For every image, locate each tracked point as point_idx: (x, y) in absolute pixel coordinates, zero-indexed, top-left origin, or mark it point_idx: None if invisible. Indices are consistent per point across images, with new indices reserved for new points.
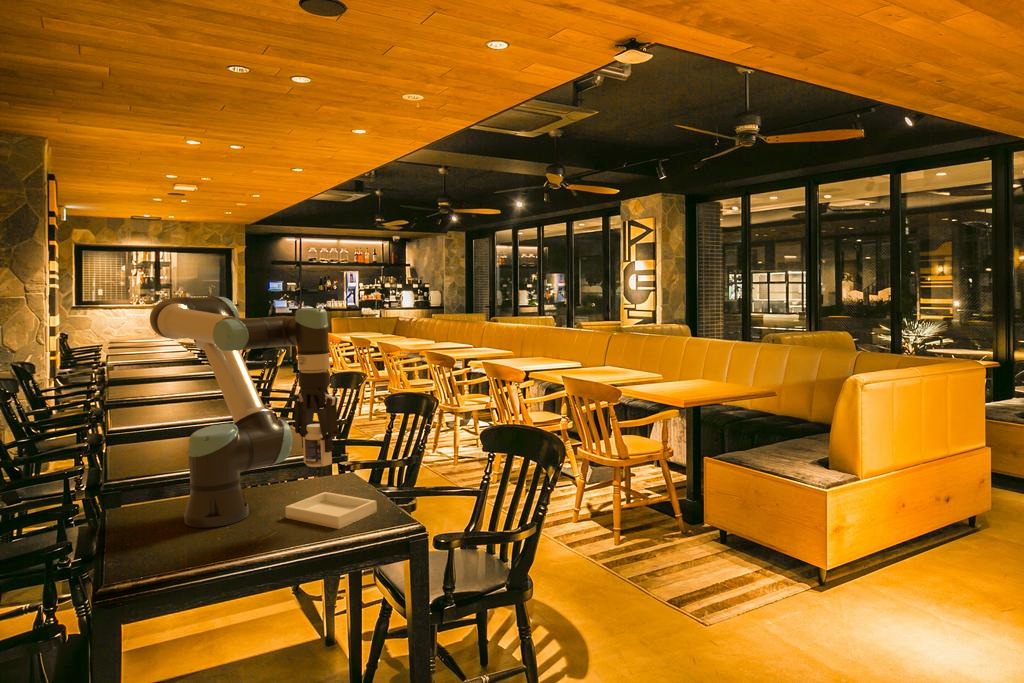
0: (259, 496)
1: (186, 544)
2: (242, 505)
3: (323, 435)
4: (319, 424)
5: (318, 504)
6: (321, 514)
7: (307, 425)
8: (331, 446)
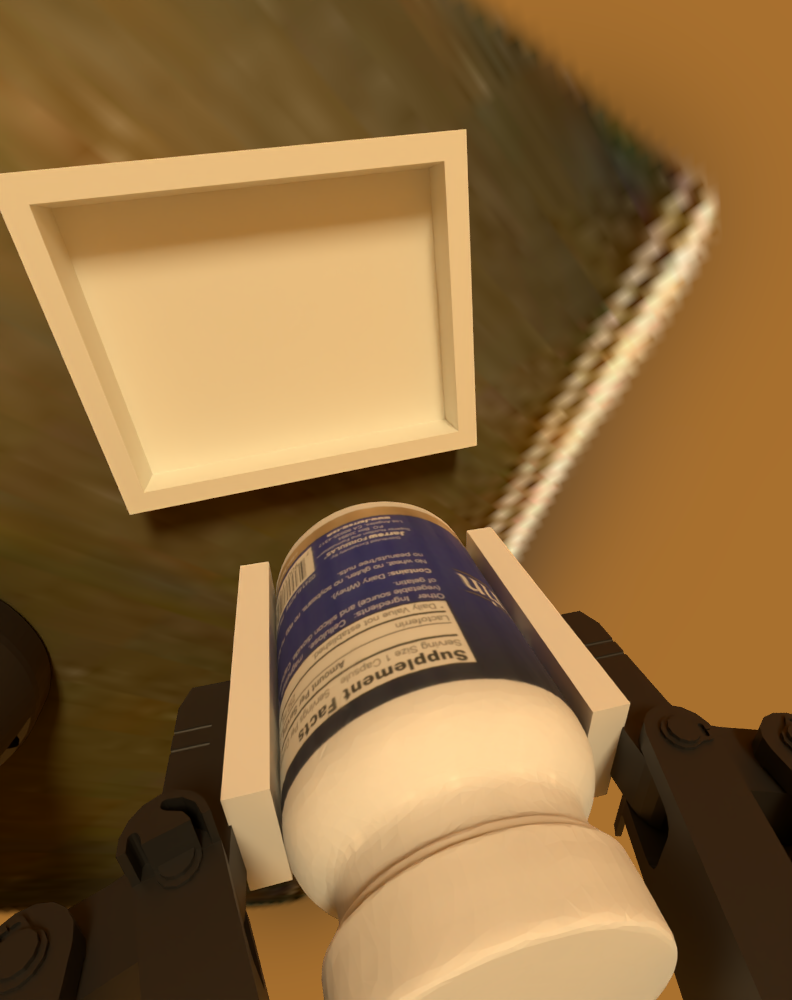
0: None
1: (159, 784)
2: None
3: (657, 843)
4: (504, 993)
5: (88, 284)
6: (375, 463)
7: None
8: (615, 656)
